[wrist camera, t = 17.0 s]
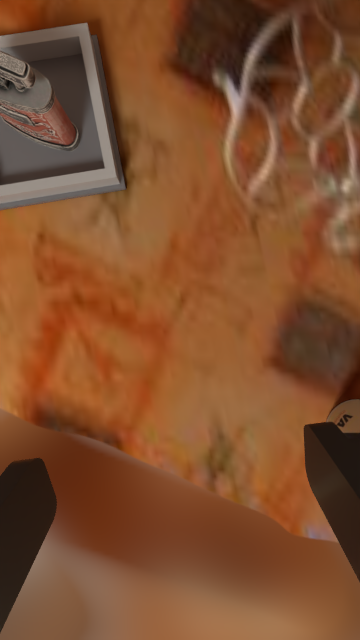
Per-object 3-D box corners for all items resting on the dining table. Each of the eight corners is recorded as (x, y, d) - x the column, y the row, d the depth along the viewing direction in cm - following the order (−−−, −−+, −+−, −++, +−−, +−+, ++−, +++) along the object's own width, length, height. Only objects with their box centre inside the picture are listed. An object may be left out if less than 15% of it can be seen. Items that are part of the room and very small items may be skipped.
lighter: (0, 127, 29) (-86, 48, 19) (10, 94, 29) (-74, -4, 19) (74, 158, 30) (28, 97, 20) (84, 126, 29) (42, 48, 19)
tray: (97, 38, 29) (91, 16, 26) (126, 189, 31) (122, 181, 28) (-47, 61, 28) (-68, 40, 26) (-8, 211, 31) (-24, 205, 28)
